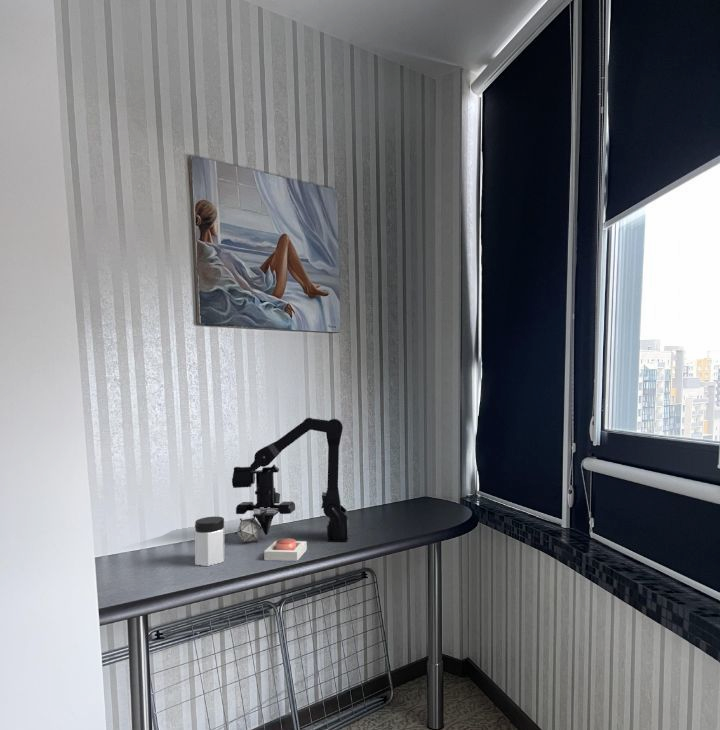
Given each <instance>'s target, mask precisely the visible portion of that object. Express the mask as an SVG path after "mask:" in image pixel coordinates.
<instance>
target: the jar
mask: <svg viewBox="0 0 720 730" xmlns="http://www.w3.org/2000/svg"><path fill="white" fill-rule="evenodd" d="M194 528H195V532H194V564H195V566H199V565H201V566H202V567H211V566H210V565H212V566H215V565H219V564H223V563H224V560H225V558H226V554H225V552H226V551H225V548H226V547H225V543H226V542H225V541H226V540H224V539H225V518H224V517H222V516H207V517H202V518H198V519H197V520H195V522H194ZM222 562H223V563H222ZM218 563H219V564H218ZM214 564H215V565H214ZM201 566H200V567H201Z"/></svg>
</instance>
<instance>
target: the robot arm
mask: <svg viewBox="0 0 720 730" xmlns="http://www.w3.org/2000/svg"><path fill="white" fill-rule="evenodd" d="M343 426H344V425H343V423H342V421H341V420H340V419H338V418H330V419H329V420H327V419H321V418H312V417H306V418H305V419H303V421H302V422H300V423H299V424H298V425H297V426H295V427H294V428H292V429H291V430H290V431H289V432H287V433H286V434H285V435H283V436H282V437H280V438H279V439H278V440H276V441H274V442H272V443H270V444H268V445H266V446H264V447H262V448H260V449H259V450H257V451H256V452H255V453H254V457H253V458H254V460H253V462H252V463H251V464H250V466H235V467H233V473H232V478H231V485H232V488H233V489H237V488H238V489H241V488H251V487H252V485H254V484H255V487H256V490H254V494H255V495H256V503H255V504H254V502H253V501H243V502H241V503H238V504H237V506H236V508H235V514H236V515H245V514H246V513H247V512H249V511H253V514H252V518H254V517H255V520H256V521H257V522H258V523H259V525H260V526H261V527H262V528H261V530H262V531H263V533H264V535H268V534H269V532H270V528H271V524H272V522H273V519H274V517H275V516H276V515H277V514H280V515H289V514H292V513H293V512H294V511H296V504H295V502H294V501H282V502H281V503H280V499H281V494H280V493H279V492H277V491H276V487H275V484H274V483H275V482H274V477H275V476H274V473H275V474H276V473H278V472H279V471H280V468H278V466H276V464H272V466H269V465H270V464H271V463H272V462H273V461H274V459H275V458H277V457H278V456H279V455H280V453H281V452H282V451H284V449H285V448H287V447H289V446H290V445H291V444H293V443H294V442H295V441H297V440H298V439H299V438H301V437H302V436H303V435H305V434H306V433H307V432H309V431H315V432H321V433H325V435H326V440H327V441H326V442H327V446H328V450H327V453H328V454H327V486H326V487H327V488H326V491H324V492H323V491H322V493H321V500H322V502H321V507H320V509H322V511H323V514H324V515H325V516H326V517H328V518H329V520H328V524H327V525H326V531H327V532H326V533H327V535H326V536H327V537H326V538H327V542H334V543H335V542H339V543H340V542H343V543H344V542H345V543H346V542H348V541H349V539H350V538H351V534H350V522H349V521H350V519H349V518H348V510H347V509H346V508H345V507H344V506H343V505H342V504H341V503H342V502H341V497H340V490H339V461H340V460H339V459H340V457H339V455H340V443H341V441H342V440H341V439H342V433H343ZM267 466H268V467H267ZM260 467H262V469H259V468H260ZM258 469H259V470H258Z"/></svg>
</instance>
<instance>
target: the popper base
mask: <svg viewBox="0 0 720 730" xmlns="http://www.w3.org/2000/svg"><path fill="white" fill-rule="evenodd" d="M276 541H277V540H275V541H274V542H273V543H272V544H271V545H270V546H269V547H267V548H266V549H265V550H264V552H263V555H264V561H276V562H277V561H279V562H280V561H283V562H284V561H285V562H297V561H299V560H300V558H301V557H302V556H303V555H304V554H305V552H306V551H307V549H308V545H307V544H308V542H307V541H306V540H304V541H303V540H302V541H301V540H296V548H295V549H294V550H276Z"/></svg>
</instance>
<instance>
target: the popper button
mask: <svg viewBox="0 0 720 730" xmlns="http://www.w3.org/2000/svg"><path fill="white" fill-rule="evenodd" d="M275 541H276V550H294V549H295V548H296V541H297V540H296V539H294V538H289V537H287V538H286V537H285V538H281V539H278V540H275Z"/></svg>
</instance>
